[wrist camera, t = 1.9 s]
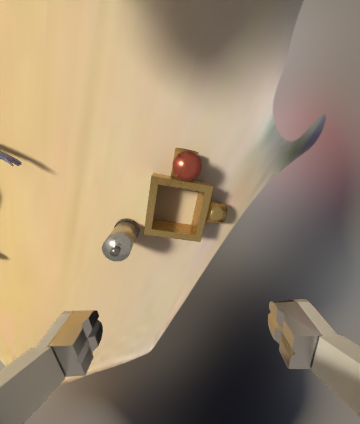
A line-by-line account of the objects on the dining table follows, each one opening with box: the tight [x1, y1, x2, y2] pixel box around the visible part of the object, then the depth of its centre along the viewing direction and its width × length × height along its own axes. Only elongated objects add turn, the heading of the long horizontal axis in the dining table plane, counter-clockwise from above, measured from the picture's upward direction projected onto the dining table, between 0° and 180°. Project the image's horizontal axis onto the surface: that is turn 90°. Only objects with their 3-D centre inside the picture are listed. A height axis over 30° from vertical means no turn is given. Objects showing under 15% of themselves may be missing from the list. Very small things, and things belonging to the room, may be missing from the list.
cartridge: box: [102, 219, 139, 261], centre depth 31 cm, size 5×5×9 cm
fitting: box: [144, 148, 227, 242], centre depth 31 cm, size 14×15×6 cm
